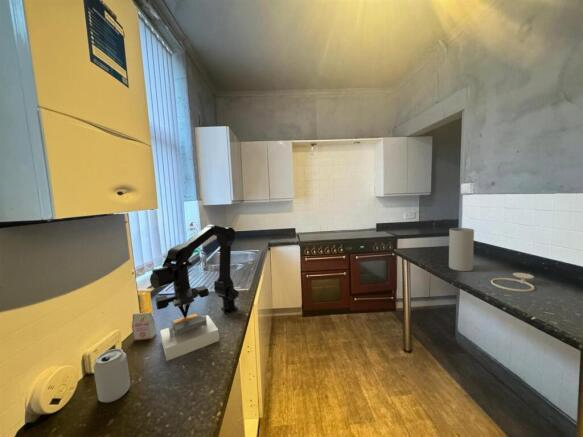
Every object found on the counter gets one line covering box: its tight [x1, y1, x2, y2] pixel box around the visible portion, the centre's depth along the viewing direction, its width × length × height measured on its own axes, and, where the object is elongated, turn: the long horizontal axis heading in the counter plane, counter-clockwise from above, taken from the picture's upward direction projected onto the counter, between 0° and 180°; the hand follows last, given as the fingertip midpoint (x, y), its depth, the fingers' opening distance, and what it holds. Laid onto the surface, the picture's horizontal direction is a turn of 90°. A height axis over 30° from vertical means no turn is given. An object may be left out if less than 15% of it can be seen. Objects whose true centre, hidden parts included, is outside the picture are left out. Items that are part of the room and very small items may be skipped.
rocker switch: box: [170, 313, 207, 335], centre depth 93 cm, size 14×10×2 cm
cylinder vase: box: [448, 227, 475, 272], centre depth 153 cm, size 12×12×25 cm
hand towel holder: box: [490, 272, 535, 293], centre depth 127 cm, size 17×4×20 cm
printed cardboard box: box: [131, 312, 157, 341], centre depth 98 cm, size 4×7×10 cm, turn 94°
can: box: [92, 348, 131, 403], centre depth 69 cm, size 8×8×12 cm
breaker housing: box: [159, 314, 220, 362], centre depth 93 cm, size 14×18×8 cm
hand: (185, 317), depth 97 cm, fingers closed
